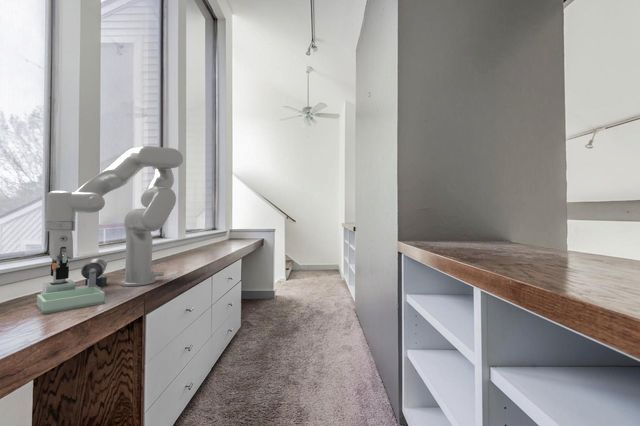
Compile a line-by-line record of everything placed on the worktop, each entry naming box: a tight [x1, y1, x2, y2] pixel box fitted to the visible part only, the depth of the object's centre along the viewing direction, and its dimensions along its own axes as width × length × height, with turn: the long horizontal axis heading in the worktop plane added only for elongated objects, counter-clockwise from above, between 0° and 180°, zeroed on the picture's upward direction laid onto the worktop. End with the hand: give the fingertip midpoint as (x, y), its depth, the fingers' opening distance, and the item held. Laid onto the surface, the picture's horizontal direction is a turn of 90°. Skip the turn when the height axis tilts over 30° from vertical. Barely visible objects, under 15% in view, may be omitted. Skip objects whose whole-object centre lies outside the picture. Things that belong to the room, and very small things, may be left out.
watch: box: [84, 258, 108, 288], centre depth 117 cm, size 6×8×11 cm
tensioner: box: [40, 262, 103, 294], centre depth 103 cm, size 16×9×11 cm, turn 141°
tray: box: [36, 287, 106, 315], centre depth 92 cm, size 15×12×4 cm
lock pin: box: [51, 262, 67, 285], centre depth 100 cm, size 4×4×10 cm
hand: (59, 277), depth 100 cm, fingers open, 8 cm apart
